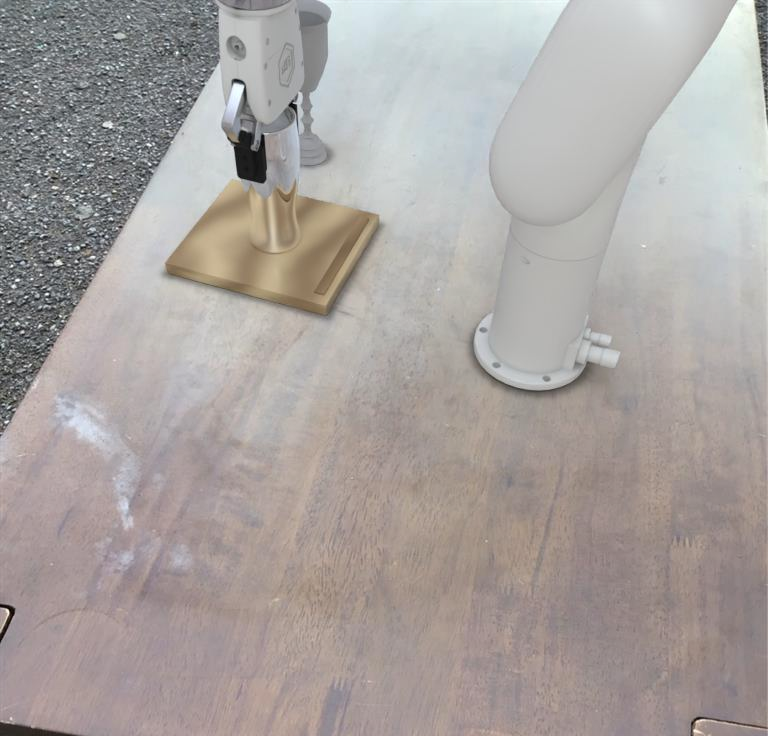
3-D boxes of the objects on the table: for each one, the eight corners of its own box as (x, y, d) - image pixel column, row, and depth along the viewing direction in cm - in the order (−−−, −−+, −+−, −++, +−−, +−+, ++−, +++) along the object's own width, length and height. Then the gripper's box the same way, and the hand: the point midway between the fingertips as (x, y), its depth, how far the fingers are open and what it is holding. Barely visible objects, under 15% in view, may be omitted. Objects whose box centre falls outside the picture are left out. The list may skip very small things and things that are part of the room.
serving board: (379, 225, 102) (379, 212, 101) (326, 315, 92) (325, 303, 91) (233, 189, 105) (231, 176, 104) (167, 273, 95) (164, 261, 94)
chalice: (341, 164, 109) (340, 21, 95) (293, 174, 108) (284, 30, 93) (323, 136, 113) (319, -6, 98) (276, 144, 112) (265, 2, 97)
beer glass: (296, 260, 95) (288, 138, 83) (238, 251, 96) (222, 129, 84) (311, 224, 99) (305, 103, 87) (255, 216, 100) (242, 94, 88)
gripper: (251, 30, 69) (268, 210, 84) (326, -49, 79) (330, 125, 93) (172, 14, 71) (202, 194, 85) (255, -62, 80) (269, 111, 95)
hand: (268, 157), depth 89 cm, fingers open, 8 cm apart
